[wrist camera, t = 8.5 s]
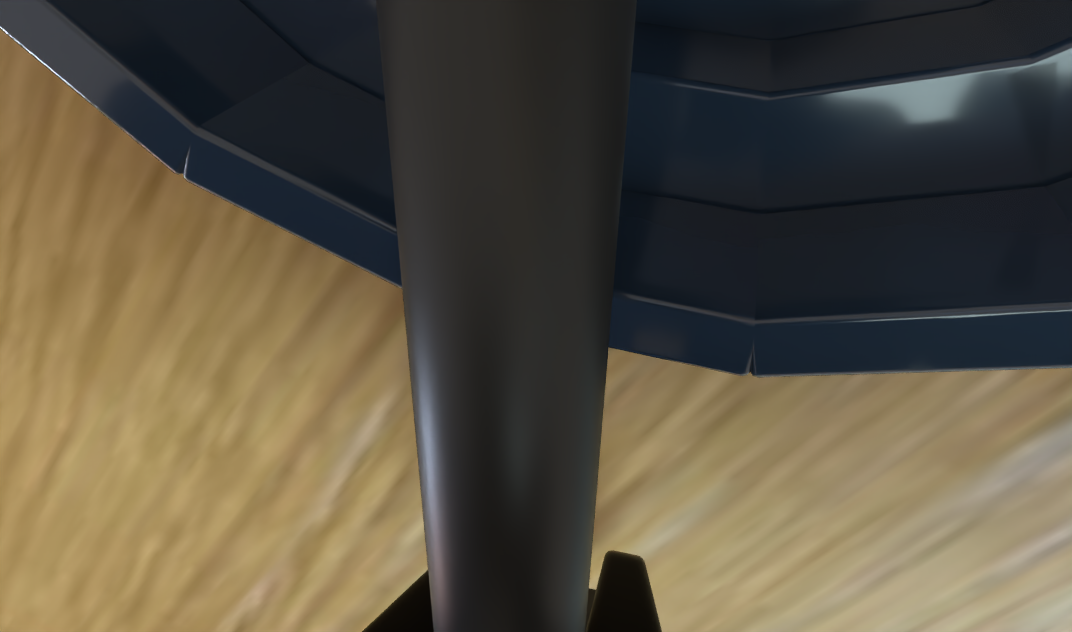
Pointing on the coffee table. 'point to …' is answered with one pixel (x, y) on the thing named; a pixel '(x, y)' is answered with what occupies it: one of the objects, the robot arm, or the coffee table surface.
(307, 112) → the bowl
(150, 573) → the coffee table surface
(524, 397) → the ladle
